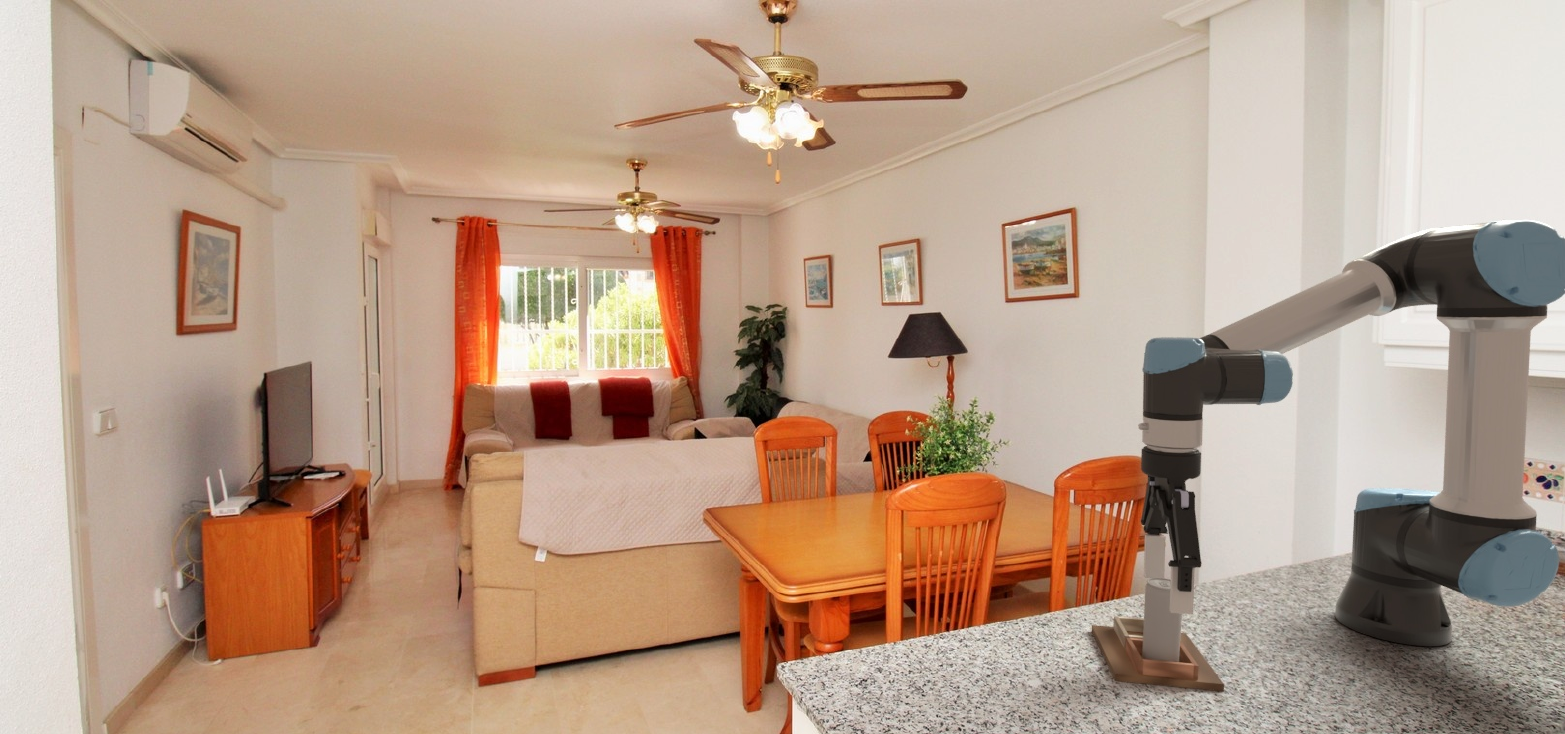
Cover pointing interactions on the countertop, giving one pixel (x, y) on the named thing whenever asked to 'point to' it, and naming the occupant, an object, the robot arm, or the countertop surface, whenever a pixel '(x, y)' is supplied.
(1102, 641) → the socket board
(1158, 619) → the beverage can
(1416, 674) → the countertop surface
